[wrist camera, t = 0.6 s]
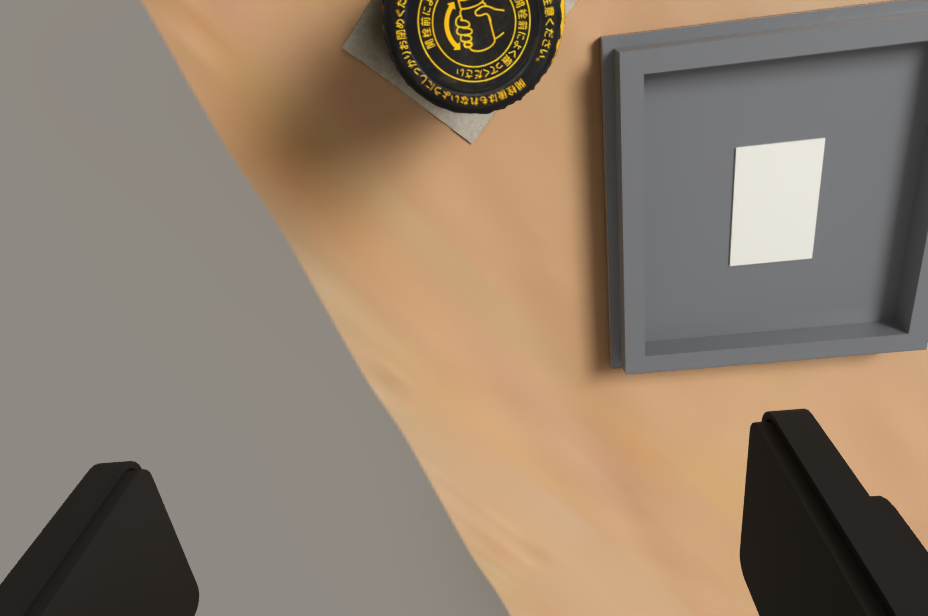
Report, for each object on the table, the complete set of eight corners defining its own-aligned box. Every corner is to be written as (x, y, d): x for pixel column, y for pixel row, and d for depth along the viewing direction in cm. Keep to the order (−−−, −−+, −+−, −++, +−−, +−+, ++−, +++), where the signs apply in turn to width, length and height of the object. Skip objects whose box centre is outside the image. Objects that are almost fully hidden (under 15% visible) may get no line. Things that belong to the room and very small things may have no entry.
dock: (600, 36, 31) (607, 41, 29) (977, -10, 29) (1011, -9, 28) (610, 362, 38) (616, 383, 36) (912, 337, 37) (934, 357, 35)
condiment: (588, -14, 30) (643, -2, 19) (471, 142, 33) (463, 228, 22) (451, -131, 28) (428, -189, 17) (343, 47, 31) (267, 90, 21)
